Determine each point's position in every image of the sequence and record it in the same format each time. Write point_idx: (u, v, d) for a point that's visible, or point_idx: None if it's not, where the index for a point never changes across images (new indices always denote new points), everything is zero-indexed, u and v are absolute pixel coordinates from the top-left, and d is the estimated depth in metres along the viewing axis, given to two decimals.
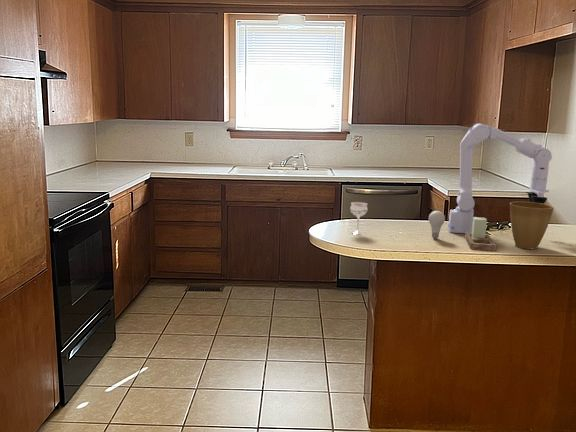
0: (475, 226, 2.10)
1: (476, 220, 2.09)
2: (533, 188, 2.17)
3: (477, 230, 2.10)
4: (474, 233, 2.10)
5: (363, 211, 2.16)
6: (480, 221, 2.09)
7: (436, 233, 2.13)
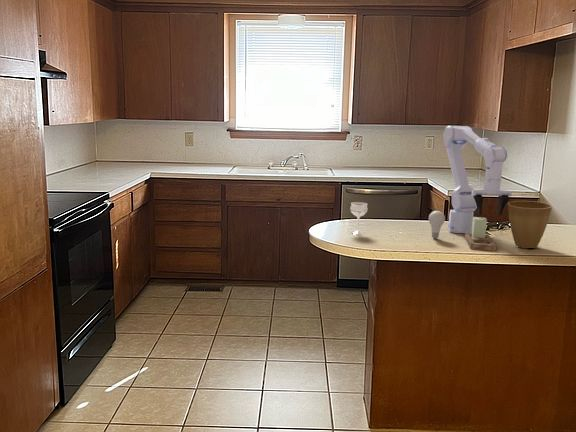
0: (475, 226, 2.10)
1: (476, 220, 2.09)
2: None
3: (477, 230, 2.10)
4: (474, 233, 2.10)
5: (363, 211, 2.16)
6: (480, 221, 2.09)
7: (436, 233, 2.13)
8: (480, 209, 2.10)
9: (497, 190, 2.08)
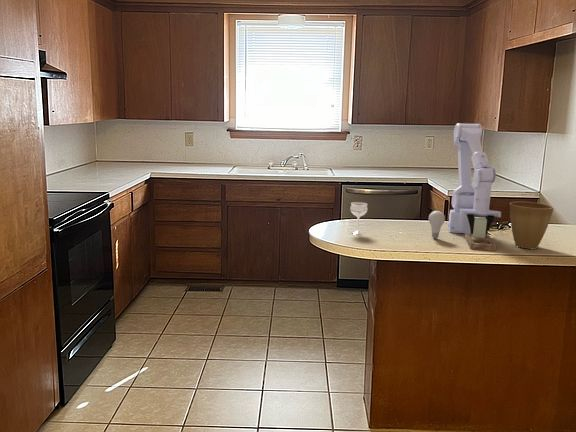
0: (475, 226, 2.10)
1: (476, 220, 2.09)
2: None
3: (477, 230, 2.10)
4: (474, 233, 2.10)
5: (363, 211, 2.16)
6: (480, 221, 2.09)
7: (436, 233, 2.13)
8: (472, 229, 2.11)
9: (485, 210, 2.08)
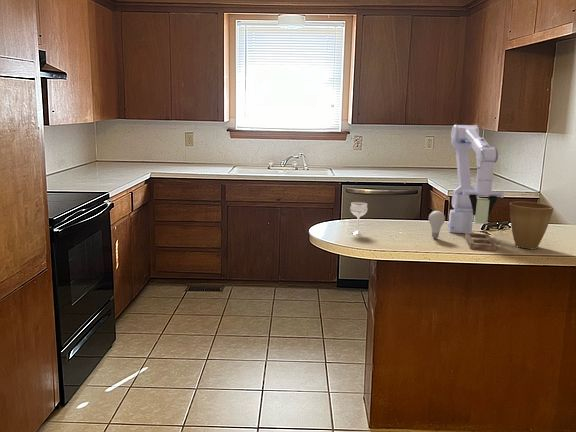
0: (477, 207, 2.07)
1: (478, 201, 2.07)
2: None
3: (479, 211, 2.07)
4: (476, 214, 2.08)
5: (363, 211, 2.16)
6: (483, 202, 2.06)
7: (436, 233, 2.13)
8: (474, 210, 2.08)
9: (487, 191, 2.05)
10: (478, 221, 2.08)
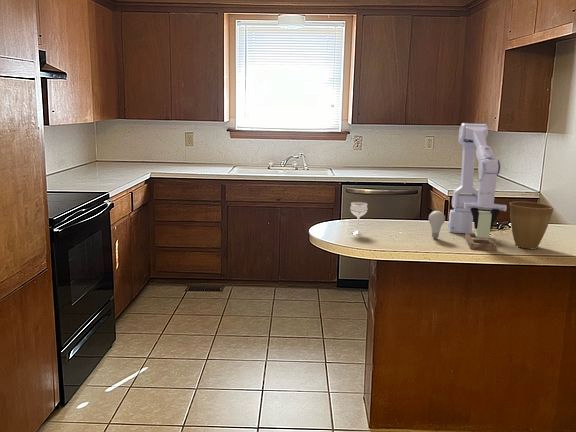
0: (479, 220, 2.01)
1: (480, 214, 2.00)
2: None
3: (481, 224, 2.01)
4: (478, 228, 2.01)
5: (363, 211, 2.16)
6: (485, 215, 2.00)
7: (436, 233, 2.13)
8: (476, 223, 2.02)
9: (490, 204, 1.98)
10: (480, 235, 2.02)
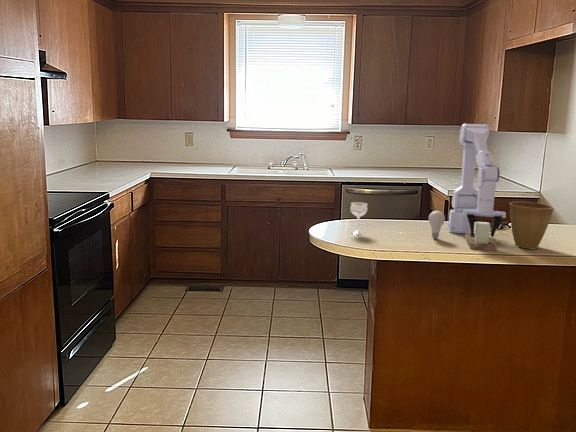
0: (478, 231, 2.01)
1: (479, 225, 2.01)
2: None
3: (480, 235, 2.02)
4: (477, 238, 2.02)
5: (363, 211, 2.16)
6: (483, 226, 2.01)
7: (436, 233, 2.13)
8: (472, 230, 2.03)
9: (489, 211, 1.99)
10: None
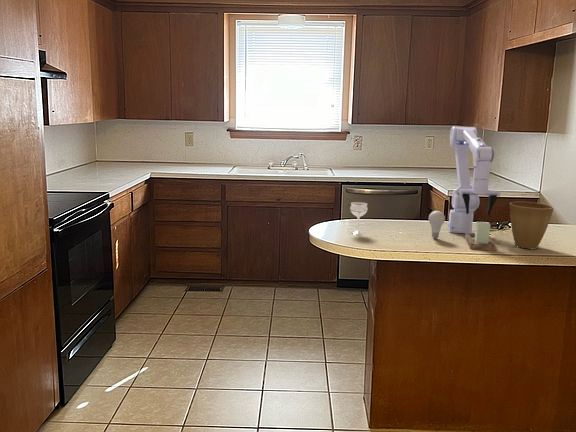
0: (478, 231, 2.01)
1: (479, 225, 2.01)
2: None
3: (480, 235, 2.02)
4: (477, 238, 2.02)
5: (363, 211, 2.16)
6: (483, 226, 2.01)
7: (436, 233, 2.13)
8: (467, 208, 2.10)
9: (484, 190, 2.07)
10: None
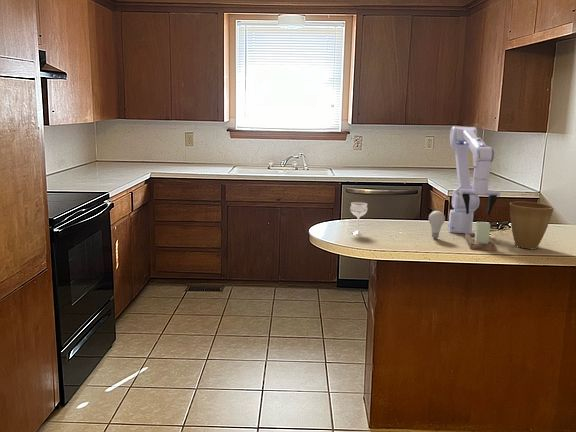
0: (478, 231, 2.01)
1: (479, 225, 2.01)
2: None
3: (480, 235, 2.02)
4: (477, 238, 2.02)
5: (363, 211, 2.16)
6: (483, 226, 2.01)
7: (436, 233, 2.13)
8: (467, 208, 2.10)
9: (484, 190, 2.07)
10: None
